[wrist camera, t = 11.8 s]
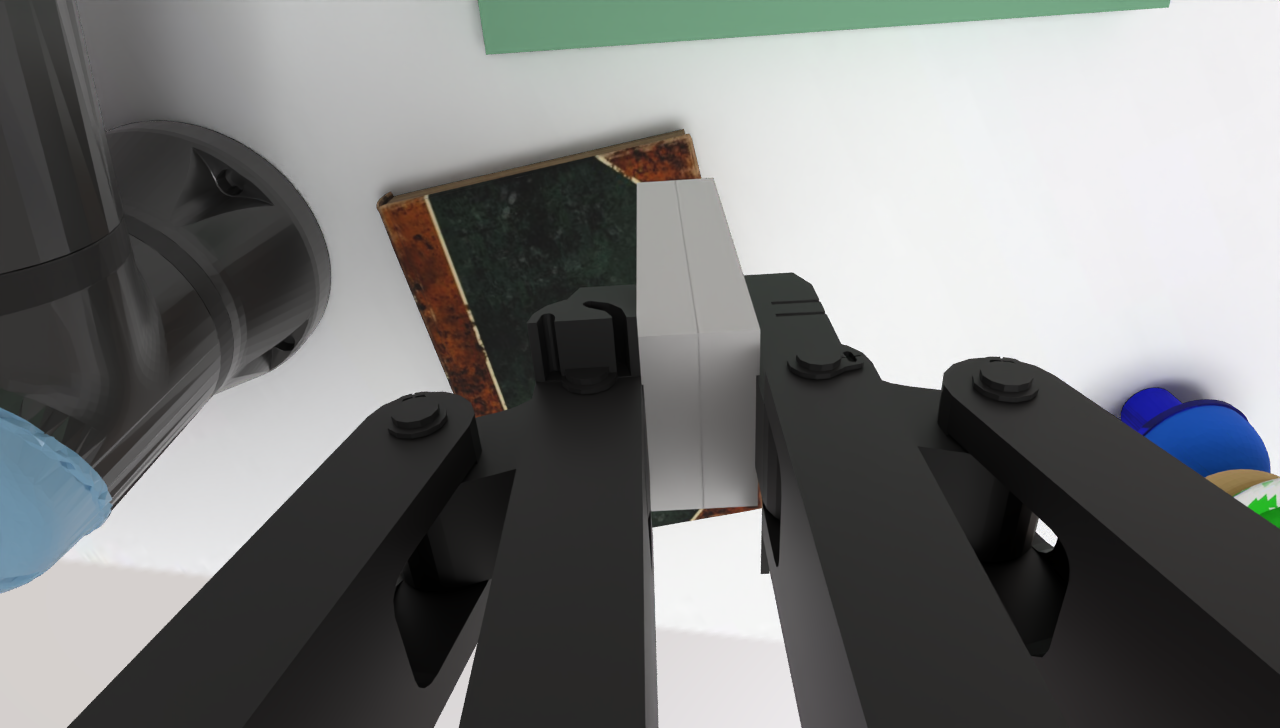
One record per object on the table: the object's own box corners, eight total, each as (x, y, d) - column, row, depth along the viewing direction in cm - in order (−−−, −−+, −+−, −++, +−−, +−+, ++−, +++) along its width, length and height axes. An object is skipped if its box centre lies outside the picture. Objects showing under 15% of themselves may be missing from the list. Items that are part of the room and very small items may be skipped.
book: (759, 476, 53) (689, 118, 41) (766, 510, 50) (694, 133, 38) (521, 519, 55) (388, 189, 43) (513, 555, 52) (369, 209, 40)
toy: (1054, 403, 50) (1203, 571, 37) (1203, 344, 48) (1417, 500, 35) (1084, 498, 54) (1228, 679, 41) (1223, 447, 52) (1422, 622, 38)
